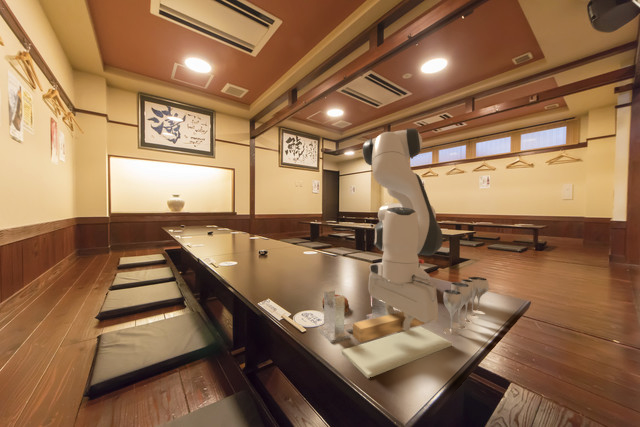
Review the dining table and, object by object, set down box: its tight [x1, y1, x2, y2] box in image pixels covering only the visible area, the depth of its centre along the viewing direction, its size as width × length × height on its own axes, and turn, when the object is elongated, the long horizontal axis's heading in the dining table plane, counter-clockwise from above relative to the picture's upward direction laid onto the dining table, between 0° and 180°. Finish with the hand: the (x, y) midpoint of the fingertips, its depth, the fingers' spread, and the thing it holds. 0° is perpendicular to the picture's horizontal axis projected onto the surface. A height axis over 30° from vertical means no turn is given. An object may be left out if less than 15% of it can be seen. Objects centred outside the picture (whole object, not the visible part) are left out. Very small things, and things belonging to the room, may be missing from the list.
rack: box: [317, 289, 388, 344], centre depth 73 cm, size 24×8×12 cm, turn 118°
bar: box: [352, 311, 438, 343], centre depth 62 cm, size 26×3×3 cm, turn 118°
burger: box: [321, 294, 350, 315], centre depth 86 cm, size 10×9×5 cm
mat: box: [341, 325, 453, 379], centre depth 62 cm, size 28×10×1 cm, turn 118°
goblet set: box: [442, 276, 490, 337], centre depth 79 cm, size 28×6×13 cm, turn 130°
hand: (398, 325), depth 62 cm, fingers closed on bar, 3 cm apart
